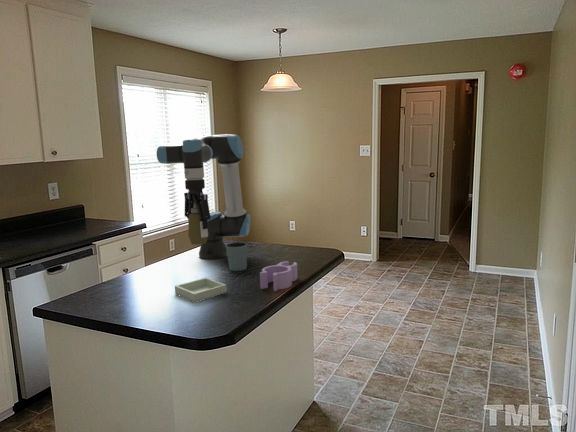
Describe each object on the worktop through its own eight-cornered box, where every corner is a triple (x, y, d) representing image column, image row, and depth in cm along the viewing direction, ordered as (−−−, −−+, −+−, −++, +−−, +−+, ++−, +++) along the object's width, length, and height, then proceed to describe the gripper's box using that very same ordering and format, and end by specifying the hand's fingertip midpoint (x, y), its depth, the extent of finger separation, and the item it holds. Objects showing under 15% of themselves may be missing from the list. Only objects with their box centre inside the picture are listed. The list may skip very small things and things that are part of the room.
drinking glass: (250, 265, 227) (248, 241, 225) (246, 271, 217) (244, 246, 215) (229, 265, 228) (228, 242, 226) (225, 271, 219) (223, 246, 216)
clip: (280, 275, 210) (279, 260, 209) (304, 278, 204) (303, 263, 203) (255, 288, 194) (254, 272, 192) (280, 292, 187) (280, 275, 186)
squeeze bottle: (207, 245, 182) (204, 200, 180) (186, 246, 183) (183, 200, 180) (210, 240, 190) (208, 197, 187) (191, 241, 191) (188, 198, 188)
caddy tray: (175, 294, 189) (174, 286, 189) (206, 285, 199) (206, 277, 198) (194, 302, 178) (194, 294, 178) (226, 293, 188) (226, 284, 188)
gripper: (172, 178, 187) (177, 233, 191) (200, 180, 172) (204, 240, 176) (189, 177, 192) (192, 231, 196) (217, 179, 177) (221, 237, 181)
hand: (198, 235), depth 186 cm, fingers closed on squeeze bottle, 8 cm apart
